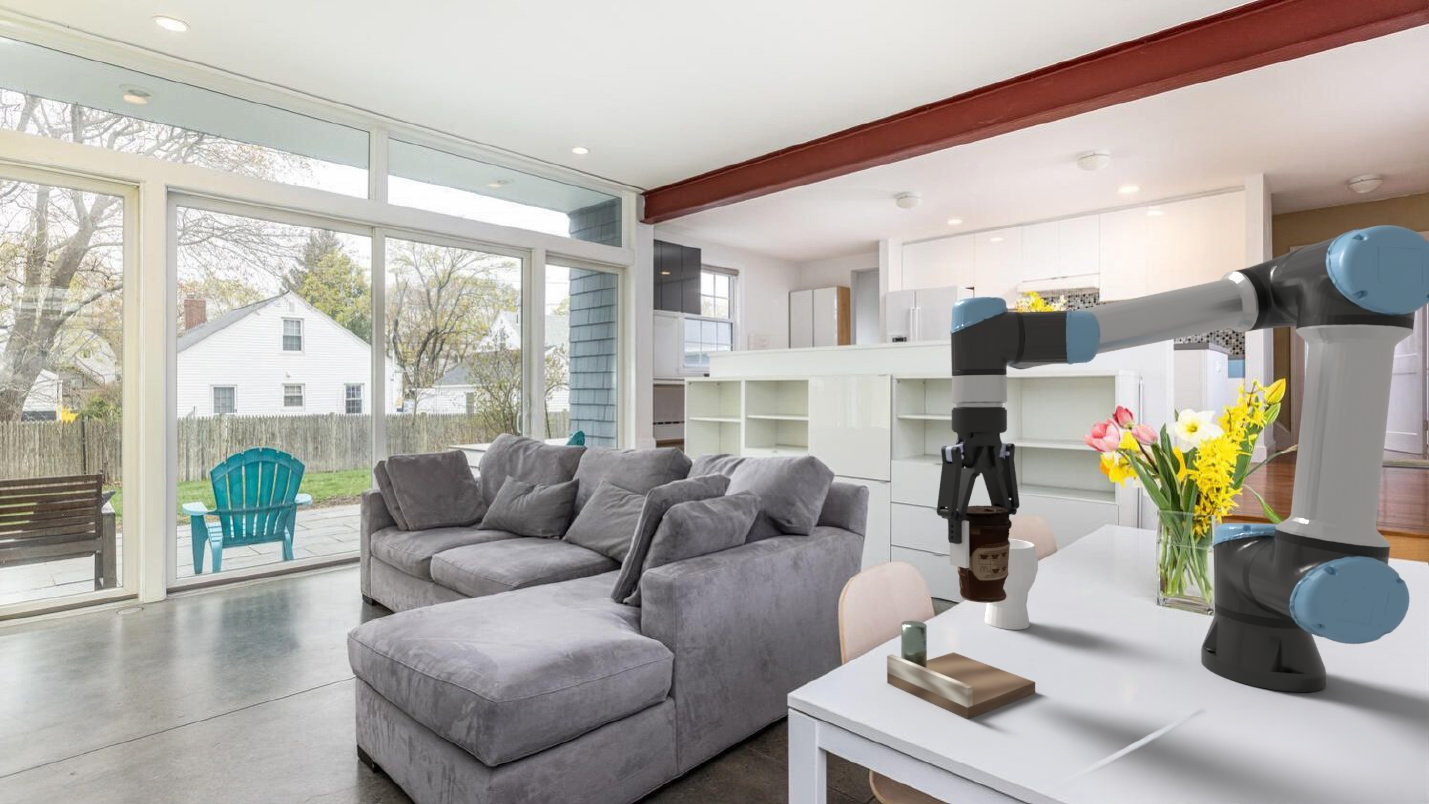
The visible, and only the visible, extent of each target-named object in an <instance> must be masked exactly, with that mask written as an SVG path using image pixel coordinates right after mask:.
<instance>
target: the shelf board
mask: <svg viewBox="0 0 1429 804" xmlns="http://www.w3.org/2000/svg"><path fill="white" fill-rule="evenodd" d="M886 660H887V661H886V671H887V672H886V674H887V675H886V683H887V684H889V685H892V686H893V687H895V688H899V689H900V690H902V691H905V692H907V693H910V694H911V695H914V696H916V697H918V698H920V699H922V700H925V701H927V702H929V703H932V704H933V705H935V706H938V707H940V708H942V709H945V710H946V711H949V712H951V713H953V714H956V715H958V716H960V717H962V718H965V719H967V720H969V719H971V718H974V717H976V716H979V715H981V714H984V713H986V712H987V713H988V712H989V711H991V710H994V709H996V708H999V707H1002V706H1005V705H1007V704H1009V703H1013V702H1015V701H1018V700H1019V699H1022V698H1025V697H1027V696H1030V695H1033V694H1036V681H1034V680H1031V679H1029V678H1028V679H1027V678H1025V677H1023V676H1019V675H1017V674H1015V673H1012V672H1009V671H1006V670H1004V669H1000V668H998V667H995V666H992V665H989V664H987V663H984V662H981V661H979V660H976V659H974V658H970V657H968V656H965V655H962V654H959V653H957V652H949V653H946V654H944V655H941V656H937V657H933V658H931V659H927V668H925V667H922V666H920V665H917V664H915V663H912V662H910V661H907V660H905V659H902V658H901V657H900V656H897V655H895V654H893V653H891V654H888V655H886Z"/></svg>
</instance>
